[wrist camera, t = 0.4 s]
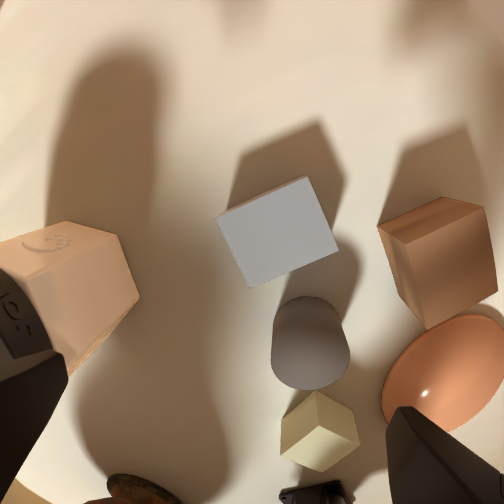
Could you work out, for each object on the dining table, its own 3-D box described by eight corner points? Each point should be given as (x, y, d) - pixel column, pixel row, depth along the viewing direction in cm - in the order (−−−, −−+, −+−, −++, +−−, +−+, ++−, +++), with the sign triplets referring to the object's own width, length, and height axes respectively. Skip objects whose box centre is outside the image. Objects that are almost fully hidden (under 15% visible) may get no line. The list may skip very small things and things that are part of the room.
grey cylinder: (347, 340, 21) (358, 374, 17) (287, 363, 22) (288, 399, 18) (326, 285, 20) (335, 312, 16) (262, 311, 21) (257, 341, 17)
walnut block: (459, 265, 19) (498, 290, 14) (398, 295, 20) (426, 329, 15) (441, 196, 18) (483, 206, 13) (376, 225, 19) (404, 244, 14)
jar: (148, 238, 20) (21, 315, 9) (137, 343, 22) (51, 455, 11) (46, 211, 20) (-83, 251, 9) (44, 307, 23) (-55, 379, 11)
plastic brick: (329, 236, 19) (339, 250, 16) (254, 268, 20) (248, 288, 17) (302, 175, 19) (307, 176, 15) (226, 210, 20) (214, 218, 16)
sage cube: (352, 409, 22) (360, 445, 19) (318, 437, 23) (321, 473, 20) (314, 388, 22) (318, 425, 18) (281, 419, 23) (280, 455, 19)
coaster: (503, 393, 21) (507, 398, 20) (394, 449, 23) (395, 455, 23) (502, 288, 19) (507, 291, 18) (365, 356, 21) (367, 362, 20)
